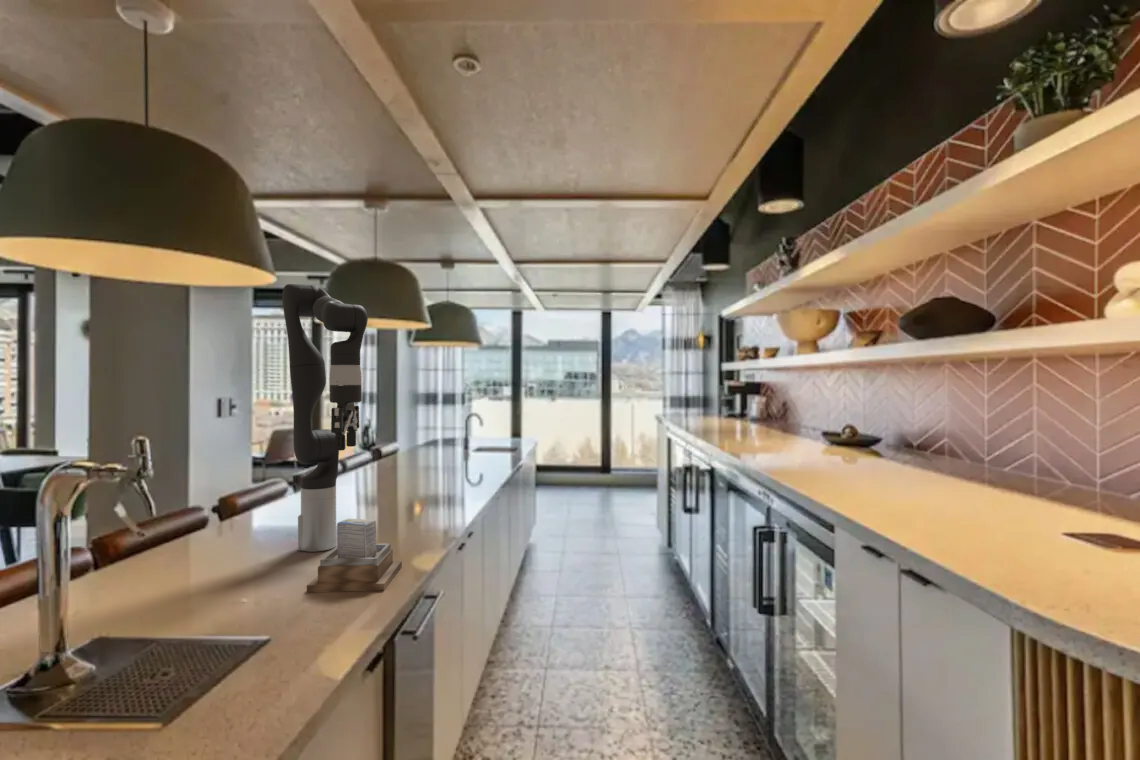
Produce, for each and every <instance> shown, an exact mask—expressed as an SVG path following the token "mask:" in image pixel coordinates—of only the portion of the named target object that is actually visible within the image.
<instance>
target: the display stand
mask: <svg viewBox="0 0 1140 760" xmlns="http://www.w3.org/2000/svg"><path fill="white" fill-rule="evenodd" d="M391 545H392V544H391V543H376V554H377V555H376V556H375V557H373V558H338V550H337V546H336V547H334V548H332V550H330V551H329V552H327V554H325V556H323V557H321V558H320V559H319V562H320V564H319V565H318V567H317V576H316V577H314V578H313V579H312V580H311V581H310V582H309V583H307V585H306V593H317V592H318V593H324V592H325V593H329V592H330V591H335V592H362V591H363V592H367V591H368V592H371V591H372V592H373V591H385V590H386V589H387V588H388V586H389V585H390V583H392V580H393V579H394V578H395V577H396V575H397V574H398V572H399V571H400V570H401V568H402V567H403V565H402V560H393V559H394V557H393V556H394V555H393V548H391V547H392V546H391Z"/></svg>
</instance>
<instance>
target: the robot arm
mask: <svg viewBox="0 0 1140 760" xmlns="http://www.w3.org/2000/svg"><path fill="white" fill-rule="evenodd" d="M281 297H282V307H283V308H282V310H283V314H284V321H285V322H284V323H285V328H286V333H287V334H286V335H287V344H288V356H289V357H288V358H289V374H290V384H291V392H292V393H291V394H292V406H293V432H292V433H293V437H292V438H293V452H294V456H295V458H296V460H297V462H298V463H300V464H302V465H309V464H310V465H311V464H316V463H317V466H316V467H315V468H314V469H313V470H312V471H311V472H309V473H307V474H305V475H303V476H302V477H301V478H300V514H299V515H298V516H297V550H298V551H303V552H309V553H313V552H323V551H328V550H331V549H332V550H333V549H334V548H335V547H337V480H338V479H337V478H338V474H339V457H340V456H339V455H340V451H345V450H346V446H347V447H351V448H352V447H356V446H357V431H358V429H360V406H359V405H355V403H361V402H362V400H363V397H362V393H363V392H362V370H361V369H362V368H361V367H362V366H361V349H362V343H363V338H364V335H365V332H366V329H367V324H368V321H369V316H368V313H367V310H366V309H365V308H364V306H362V305H359V304H350V303H344V302H342V301H341V300H338V299H336V298H333V297H331V296H330V295H329V294H328V293H327V292H326V291H325V290H324V289H323V288H322V287H320V286H318V285H314V284H312V285H311V284H298V283H297V284H294V283H288V284H285V285H284V287H283V289H282V295H281ZM303 317H304V318H316V319H317V320H318V321H319V322H321V323H323V326H324V328H325V329H326V330H327V331H331V332H337V333H338V332H342V333H349V336H348V337H347V339H345V340H340V341H339V340H338V341H336V342H335V341H334V342H333V343H332V344H331V345H330V351H329V352H330V366H329V367H330V369H329V402H330V403H332V404H336V407H331V416H330V418H331V419H330V420H331V422H330V423H331V424H330V428H328V429H326V428H324V429H313V427H312V426H313V425H312V424H313V421H312V420H313V414H314V410H315V407H316V406H317V403H318V401H319V400H320V398H321V396H322V394H323V392H324V391H325V387H326V384H327V375H326V374H327V373H326V364H325V360H324V359H325V358H324V357H323V356H322V354H321V352H320V351H319V350H318V349H317V347H316V346H315V345H314V343H313V342H312V341H311V340H310V338H309V337H308V335H307V333H306V332H305V330H304V328H303V325H302V322H301V318H303Z"/></svg>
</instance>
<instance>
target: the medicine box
mask: <svg viewBox="0 0 1140 760" xmlns="http://www.w3.org/2000/svg"><path fill="white" fill-rule="evenodd" d="M376 544H377V520H375V519H365V518H364V519H363V518H346V519H343V520H341V521H338V522H336V547H337V550H338V558H373V557H375V556H376V555H377V554H376Z"/></svg>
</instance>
